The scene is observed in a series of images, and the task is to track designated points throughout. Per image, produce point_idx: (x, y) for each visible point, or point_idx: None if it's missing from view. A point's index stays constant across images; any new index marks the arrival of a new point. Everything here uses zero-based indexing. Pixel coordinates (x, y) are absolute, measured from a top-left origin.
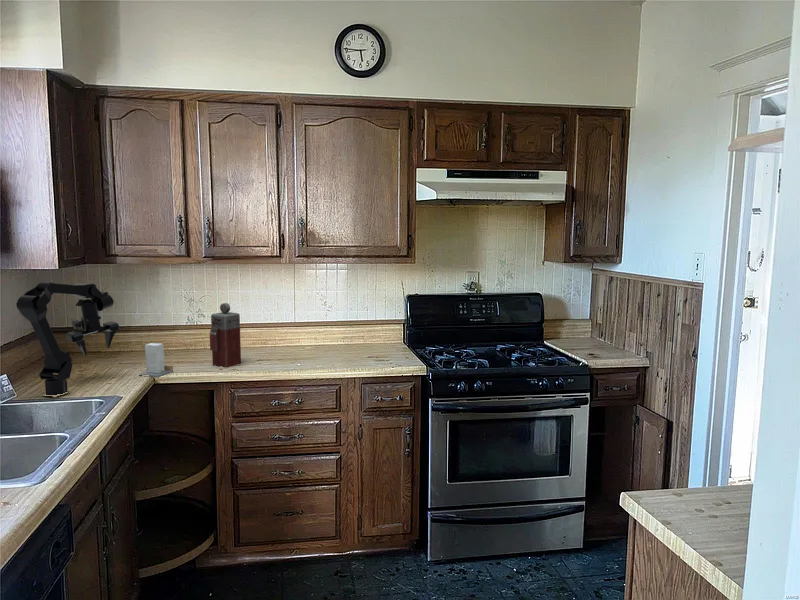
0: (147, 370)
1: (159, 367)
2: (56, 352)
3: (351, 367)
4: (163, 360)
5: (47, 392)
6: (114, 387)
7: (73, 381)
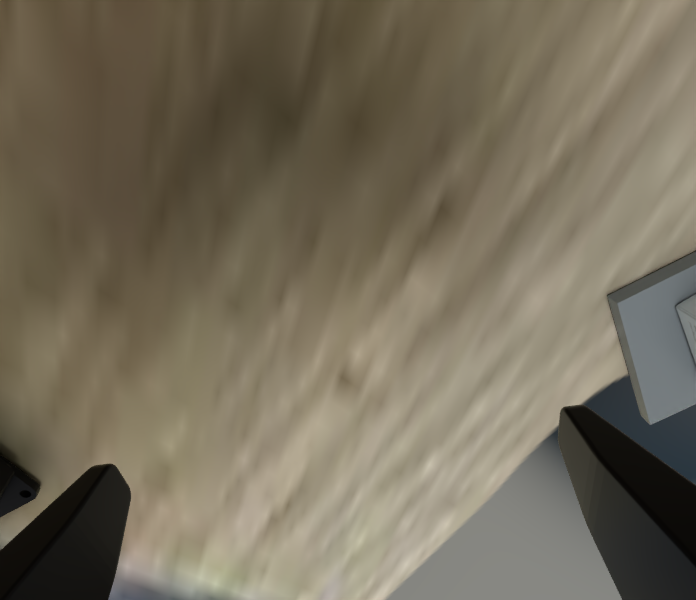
0: (691, 324)
1: None
2: None
3: None
4: None
5: None
6: (335, 488)
7: (72, 109)
